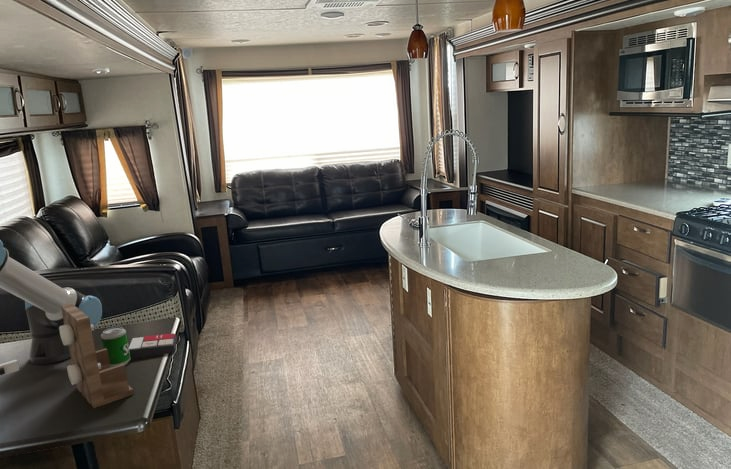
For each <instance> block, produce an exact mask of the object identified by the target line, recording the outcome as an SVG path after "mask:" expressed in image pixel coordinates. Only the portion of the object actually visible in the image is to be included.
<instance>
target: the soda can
mask: <svg viewBox="0 0 731 469" xmlns="http://www.w3.org/2000/svg"><path fill="white" fill-rule="evenodd" d="M127 336H128V335H127V330H126V329H124V328H123V327H122V326H113V327H108V328H106V329H104V330H103V331H102V333H101V334H100V340H101V344H102V349H105V348H106V349H107V350H108V356H109V361H110V367H114V366H117V365H120V364H125V366H127V365H128V364H129V362H130V361H131V360H132V359H131V358H130V352H129V342H128V337H127ZM130 359H131V360H130Z"/></svg>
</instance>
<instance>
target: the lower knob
mask: <svg viewBox="0 0 731 469" xmlns="http://www.w3.org/2000/svg"><path fill="white" fill-rule="evenodd" d="M66 369H67V376H68V379H69V383H70V384H71V385H72V386H74V385H76V384H77V383H80V382H82V374H81V369H80V367H79V365H78V364H77V363H75V364H72V363H71V364H69V365H67V366H66ZM98 369H101V364H100V363H98Z"/></svg>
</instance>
